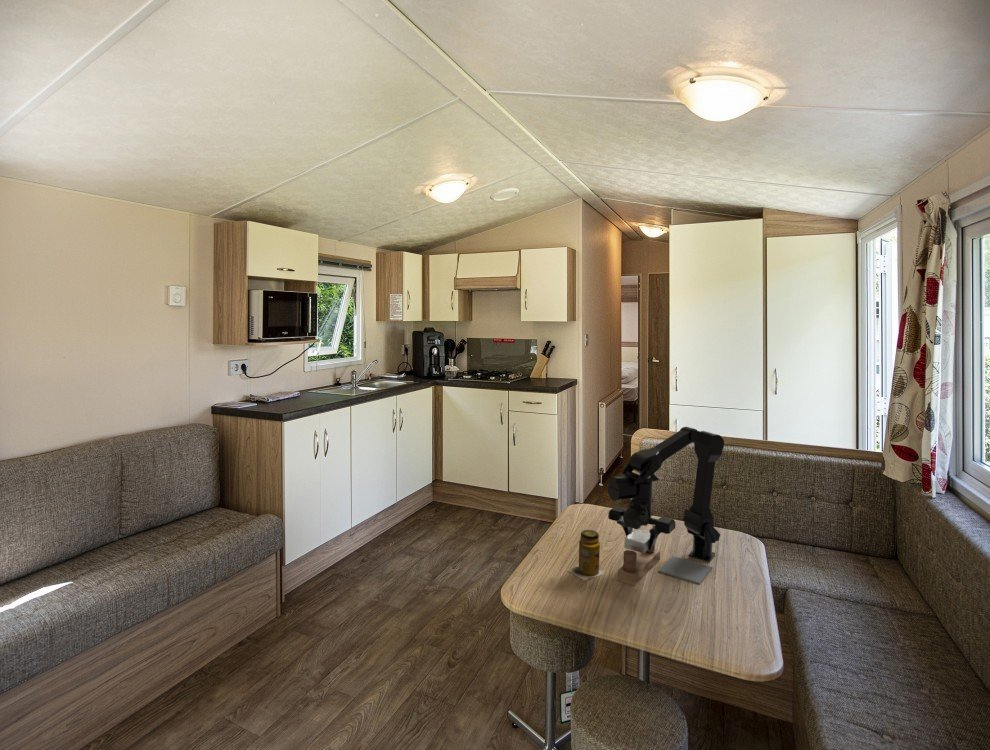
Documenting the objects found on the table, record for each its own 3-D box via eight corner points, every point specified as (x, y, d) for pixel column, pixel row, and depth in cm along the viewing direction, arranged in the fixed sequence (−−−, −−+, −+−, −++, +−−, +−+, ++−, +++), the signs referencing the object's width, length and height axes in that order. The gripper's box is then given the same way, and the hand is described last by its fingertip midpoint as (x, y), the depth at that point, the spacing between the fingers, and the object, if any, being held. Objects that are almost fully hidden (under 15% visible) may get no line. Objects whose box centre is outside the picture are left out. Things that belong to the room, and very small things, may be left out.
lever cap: (636, 537, 163) (636, 528, 163) (655, 542, 160) (656, 533, 159) (624, 547, 156) (624, 538, 156) (644, 553, 153) (644, 543, 152)
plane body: (644, 555, 168) (645, 531, 167) (660, 559, 165) (660, 535, 164) (617, 580, 153) (618, 553, 152) (634, 585, 150) (634, 558, 149)
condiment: (605, 573, 157) (606, 534, 156) (584, 581, 152) (585, 541, 151) (588, 563, 163) (589, 526, 162) (567, 570, 158) (567, 532, 157)
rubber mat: (672, 557, 167) (672, 555, 167) (712, 568, 160) (712, 567, 160) (658, 572, 158) (658, 570, 157) (699, 584, 150) (699, 582, 150)
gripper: (600, 496, 156) (599, 547, 157) (663, 511, 144) (661, 565, 146) (616, 487, 164) (615, 535, 166) (677, 499, 153) (674, 551, 155)
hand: (640, 546), depth 158 cm, fingers closed on lever cap, 6 cm apart
